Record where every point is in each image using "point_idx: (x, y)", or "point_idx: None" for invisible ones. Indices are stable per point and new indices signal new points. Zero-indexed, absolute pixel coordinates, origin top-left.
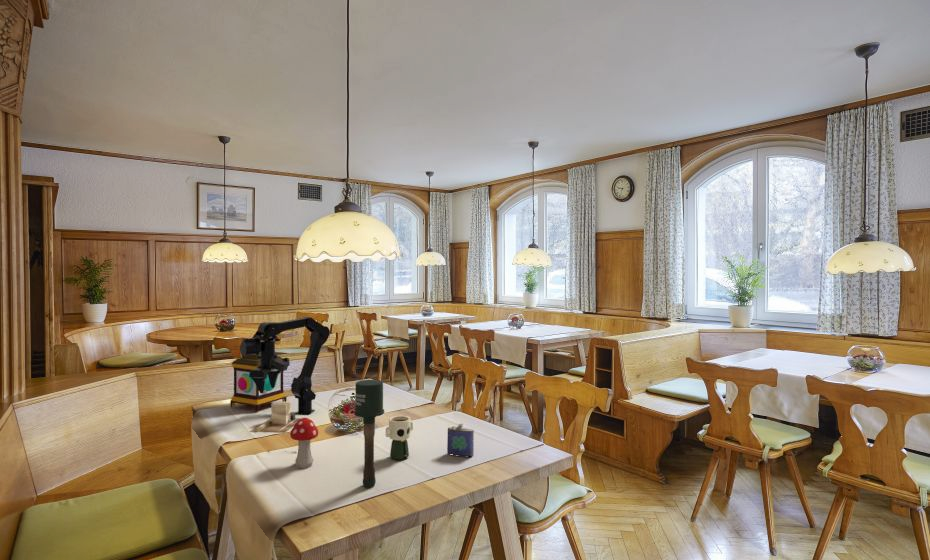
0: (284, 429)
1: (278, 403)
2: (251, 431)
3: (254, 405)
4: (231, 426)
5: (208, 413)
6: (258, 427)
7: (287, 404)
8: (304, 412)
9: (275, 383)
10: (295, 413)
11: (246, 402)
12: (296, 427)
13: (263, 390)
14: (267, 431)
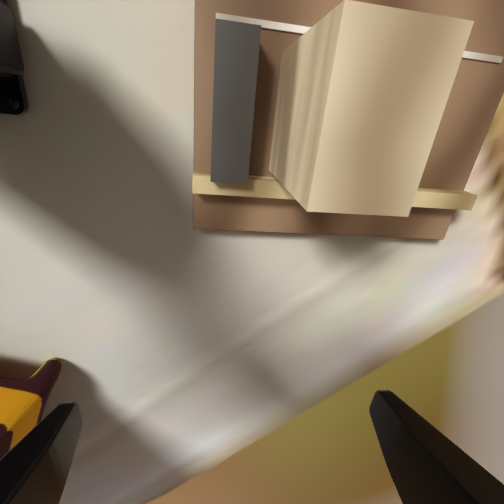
0: None
1: (396, 150)
2: (446, 228)
3: (45, 403)
4: (295, 355)
5: (127, 493)
6: (455, 203)
7: (424, 17)
8: (2, 3)
9: (1, 462)
10: (24, 107)
11: None
12: None
13: (408, 415)
14: (474, 138)
